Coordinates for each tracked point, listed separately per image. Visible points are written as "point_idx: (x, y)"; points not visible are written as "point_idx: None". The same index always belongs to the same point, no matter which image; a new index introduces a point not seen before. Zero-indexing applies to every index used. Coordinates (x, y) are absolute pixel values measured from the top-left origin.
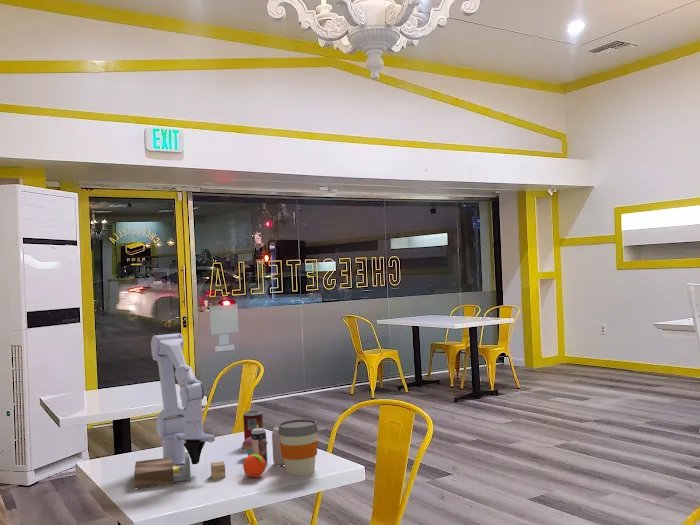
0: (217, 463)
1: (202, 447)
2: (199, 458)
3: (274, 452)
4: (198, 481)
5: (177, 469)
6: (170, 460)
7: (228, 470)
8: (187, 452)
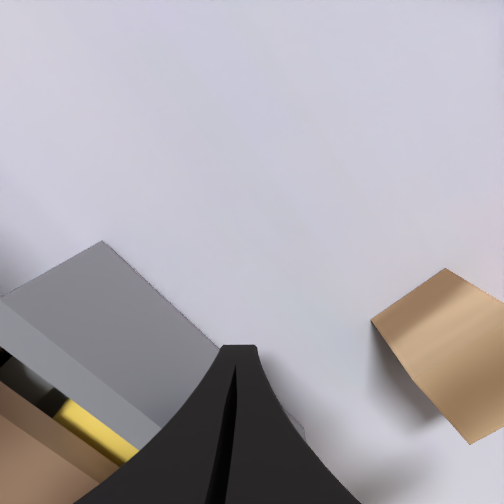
0: (488, 382)
1: (312, 459)
2: (261, 367)
3: None
4: (352, 418)
5: None
6: (20, 444)
7: (435, 181)
8: (15, 323)
